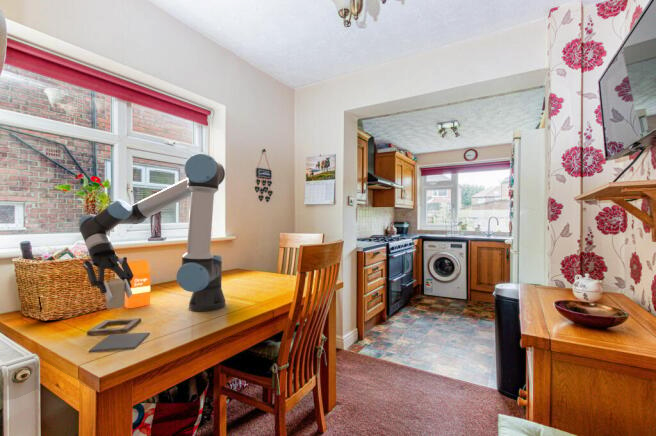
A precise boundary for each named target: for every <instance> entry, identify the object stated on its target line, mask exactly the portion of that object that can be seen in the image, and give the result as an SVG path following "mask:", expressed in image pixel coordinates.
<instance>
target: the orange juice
mask: <svg viewBox="0 0 656 436" xmlns="http://www.w3.org/2000/svg"><path fill="white" fill-rule="evenodd" d="M127 263H128V265H129V267H130V269H131V271H132V273H133V275H134V277H133V278H132V280H131V281H130V282H131V285H132V287H131V291H132V295H131V297H130V298H127V295H126V293H125V306H124V307H125V308H126V309H128V308H129V309H133V308H139V307H144V305H145V306H149V305H151V270H150V266H149V262H148V259H143V260H141V259H140V260H130V261H127Z"/></svg>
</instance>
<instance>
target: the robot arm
mask: <svg viewBox="0 0 656 436" xmlns="http://www.w3.org/2000/svg"><path fill="white" fill-rule="evenodd" d="M183 171H184V174H185V177H186V178H184V179H183V180H180V181H178V182H176V183H175V184H172V185H170V186H168V187H167V188H164V189H162V190H160V191H158V192H156V193H154V194H152V195H150V196H148V197H145V198H144V199H141V200H139V201H138V202H136V203H134V204H132V205H130V204H129V203H128V202H127V201H124V200H123V199H116V200H114V201H113V202H111V203H109V204H108V205H107V206H106V207H104V209H102V210H100V211H99V212H98V213H97V214H86V215H85V216H82V217H80V219H79V220H78V228H79V229H78V230H79V232H80V234H81V235H82V238H83V240H84V244H85V246H86V249H87V252H88V254H89V257H90V259H91V260H85V261H84V264H83V265H82V266H83V269H85V270H86V274H87V277H88V279H89V283H90V287H93V288H94V287H97V289H99V292H100V293H101V294H104V297H105V300H106V299H107V301H108V302H110V301H111V299H112V297H113V296H112V294H111V291H110V289H109V286H108V281H105V270H107V269H110V270H111V271H112V272H114V273H115V275H116V276H117V277H118V279H122V280H123V281H124V282H125V293H126V295H127V298H130V297H131V295H132V291H131V287H132V285H131V282H130V281H131V280H132V278H133V277H134V275H133V273H132V271H131V269H130V267H129V265H128V263H127V262H128V257H126V256H124V257H119V256H117V254H116V251H115V248H114V247H113V244H112V242H111V240H110V237H109V235H108V232H110V231H112V230H113V229H114V228H115V227H117V226H119V225H138V224H141V223H142V224H143V223H144V222H145V221H146V219H148V218H149V217H151V216H153V215H155V214H157V213H160V212H162V211H163V210H165V209H168V208H170V207H171V206H173V205H175V204H176V205H177V203H180V202H181V201H183V200H186V199H188V198H190V199H189V200H190V201H189V214H188V229H187V230H188V233H187V246H186V252H185V253H184V254H183V255H182V256H181V266H180V267H179V268H178V270H177V271H176V283H177V284H178V285H179V287H180V288H181V289H182V290H184V291H186V292H190V293H192V294H191V296H190V300H189V302H188V309H189V310H190V311H194V312H208V311H209V312H210V311H215V310H216V311H217V310H220V309H222V308H224V307H226V298H225V295H224V291H223V289H222V288H223V287H222V271H223V267H222V266H223V261H222V260H223V259H222V256H221V255H220V254H212V253H211V243H212V230H213V229H212V228H213V214H214V197H215V194H216V193H217V192H218V191H219V185H221V184H222V182H224V180H225V178H226V177H225V176H226V172H225V171H226V170H225V168H224V166H223V165H222V163H220V162H219V161H217V160H216V159H215V158H213V156H211V155H208V154H205V153H196V154H193V155H191V156H190V157H188V159H186V161H185V162H184V165H183ZM119 265H120V266H119ZM94 266H95V267H96V268H97V273H98V274H97V275H96V272H95V269H94Z"/></svg>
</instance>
